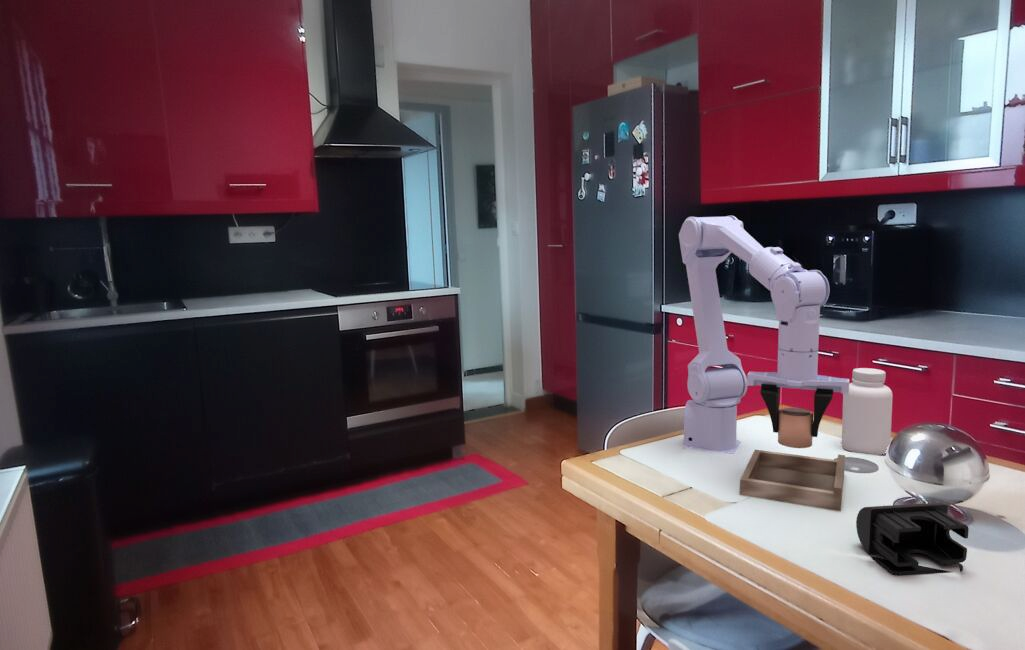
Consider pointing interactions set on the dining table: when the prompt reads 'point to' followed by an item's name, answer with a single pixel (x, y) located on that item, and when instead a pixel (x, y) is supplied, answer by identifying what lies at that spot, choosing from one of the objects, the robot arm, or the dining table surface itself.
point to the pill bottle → (867, 413)
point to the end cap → (911, 536)
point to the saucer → (859, 465)
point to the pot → (795, 427)
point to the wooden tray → (794, 479)
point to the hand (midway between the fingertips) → (795, 432)
